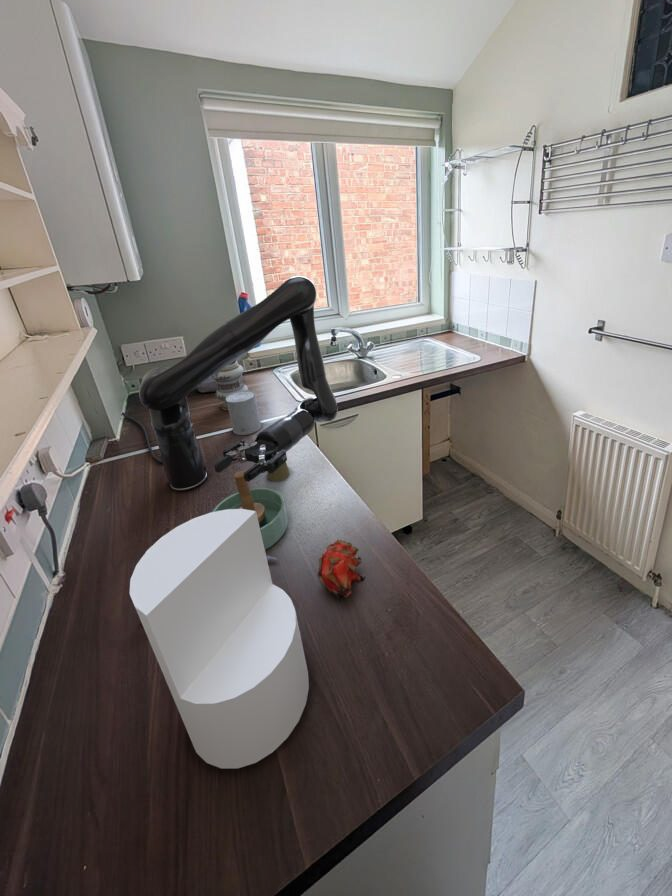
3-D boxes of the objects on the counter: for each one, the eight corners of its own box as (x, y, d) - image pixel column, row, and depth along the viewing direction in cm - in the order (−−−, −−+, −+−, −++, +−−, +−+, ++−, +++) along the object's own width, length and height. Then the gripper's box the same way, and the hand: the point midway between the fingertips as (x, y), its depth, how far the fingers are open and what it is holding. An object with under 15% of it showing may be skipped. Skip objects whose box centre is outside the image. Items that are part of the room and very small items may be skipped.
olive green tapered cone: (284, 481, 110) (277, 447, 106) (263, 480, 111) (256, 446, 107) (292, 469, 116) (287, 435, 111) (273, 467, 117) (267, 434, 113)
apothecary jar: (221, 414, 152) (211, 370, 145) (216, 403, 161) (206, 361, 154) (254, 406, 157) (245, 362, 150) (246, 396, 167) (238, 355, 160)
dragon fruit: (343, 560, 85) (350, 616, 75) (307, 551, 82) (310, 608, 72) (364, 534, 83) (375, 589, 73) (329, 524, 79) (334, 579, 69)
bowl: (199, 544, 90) (193, 523, 88) (251, 500, 103) (246, 481, 101) (254, 567, 83) (249, 545, 81) (302, 517, 96) (298, 497, 94)
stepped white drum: (161, 733, 57) (94, 590, 46) (246, 626, 71) (210, 497, 60) (258, 796, 50) (206, 645, 39) (330, 663, 64) (307, 526, 54)
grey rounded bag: (243, 377, 187) (197, 384, 182) (240, 360, 184) (193, 367, 179) (243, 389, 174) (194, 397, 169) (239, 371, 171) (189, 379, 166)
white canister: (227, 432, 138) (219, 400, 133) (245, 420, 146) (238, 389, 142) (249, 436, 135) (242, 403, 130) (267, 423, 143) (260, 392, 138)
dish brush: (232, 532, 92) (218, 478, 86) (253, 514, 97) (241, 462, 92) (252, 541, 89) (239, 486, 83) (273, 523, 94) (262, 469, 89)
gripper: (255, 418, 100) (202, 451, 87) (302, 428, 94) (252, 465, 81) (260, 444, 103) (210, 480, 89) (306, 456, 97) (259, 496, 83)
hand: (230, 473), depth 85 cm, fingers open, 8 cm apart
